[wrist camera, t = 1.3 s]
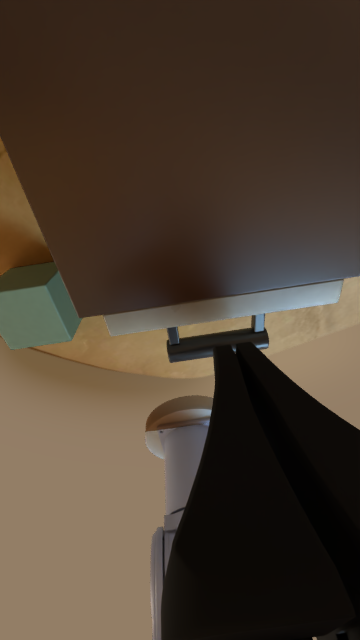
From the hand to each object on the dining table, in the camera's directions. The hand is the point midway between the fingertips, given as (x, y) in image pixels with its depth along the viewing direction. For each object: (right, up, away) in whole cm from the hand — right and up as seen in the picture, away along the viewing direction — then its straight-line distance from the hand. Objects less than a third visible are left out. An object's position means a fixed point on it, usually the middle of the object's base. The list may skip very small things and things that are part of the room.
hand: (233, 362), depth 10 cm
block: (-12, +4, +8) cm, 14 cm away
